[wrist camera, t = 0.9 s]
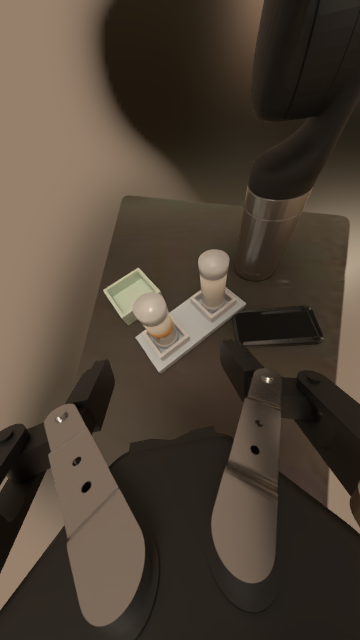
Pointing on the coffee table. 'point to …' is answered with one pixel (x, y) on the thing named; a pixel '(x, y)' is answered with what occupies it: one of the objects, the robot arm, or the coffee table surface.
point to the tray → (129, 293)
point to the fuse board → (190, 328)
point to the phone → (276, 327)
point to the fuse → (213, 278)
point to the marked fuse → (156, 319)
